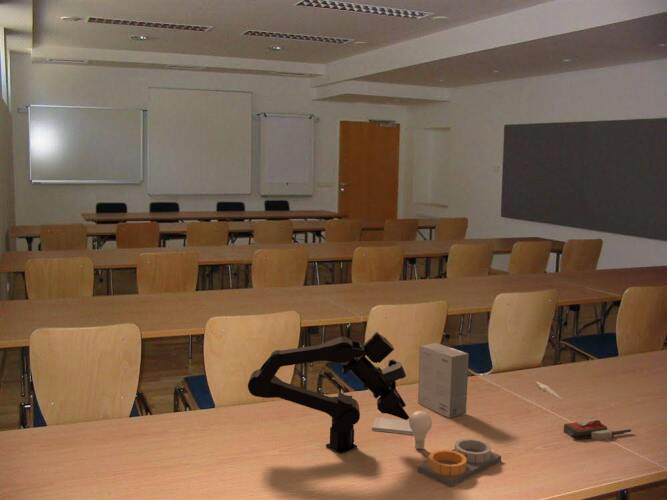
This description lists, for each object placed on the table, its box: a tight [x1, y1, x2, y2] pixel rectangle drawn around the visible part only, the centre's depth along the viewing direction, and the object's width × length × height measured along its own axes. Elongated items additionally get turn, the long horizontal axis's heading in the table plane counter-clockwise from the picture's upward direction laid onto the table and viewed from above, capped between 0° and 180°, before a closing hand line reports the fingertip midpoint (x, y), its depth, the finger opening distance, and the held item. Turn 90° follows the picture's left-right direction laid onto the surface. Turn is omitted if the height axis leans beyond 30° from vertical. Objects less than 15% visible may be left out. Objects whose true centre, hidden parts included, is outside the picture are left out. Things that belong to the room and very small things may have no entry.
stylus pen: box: [536, 381, 563, 400], centre depth 241 cm, size 15×3×2 cm, turn 17°
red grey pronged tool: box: [563, 417, 632, 441], centre depth 206 cm, size 9×4×20 cm
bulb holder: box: [417, 438, 502, 487], centre depth 183 cm, size 22×11×4 cm, turn 133°
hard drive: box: [371, 417, 414, 436], centre depth 208 cm, size 2×8×12 cm
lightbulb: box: [408, 410, 433, 450], centre depth 193 cm, size 6×6×11 cm
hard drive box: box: [417, 342, 470, 419], centre depth 223 cm, size 16×8×20 cm, turn 34°
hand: (406, 412), depth 192 cm, fingers open, 9 cm apart
